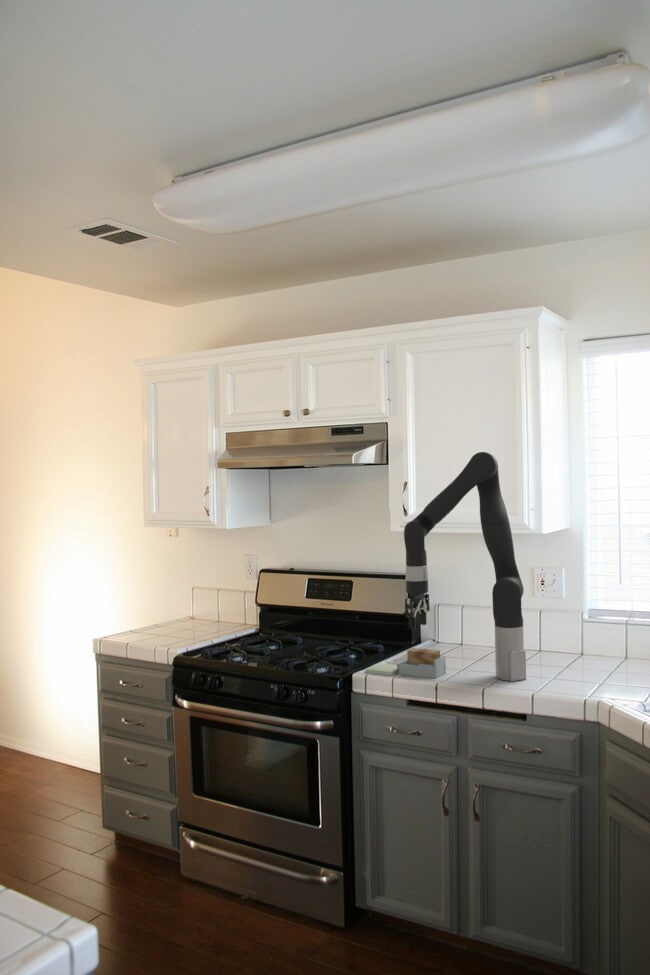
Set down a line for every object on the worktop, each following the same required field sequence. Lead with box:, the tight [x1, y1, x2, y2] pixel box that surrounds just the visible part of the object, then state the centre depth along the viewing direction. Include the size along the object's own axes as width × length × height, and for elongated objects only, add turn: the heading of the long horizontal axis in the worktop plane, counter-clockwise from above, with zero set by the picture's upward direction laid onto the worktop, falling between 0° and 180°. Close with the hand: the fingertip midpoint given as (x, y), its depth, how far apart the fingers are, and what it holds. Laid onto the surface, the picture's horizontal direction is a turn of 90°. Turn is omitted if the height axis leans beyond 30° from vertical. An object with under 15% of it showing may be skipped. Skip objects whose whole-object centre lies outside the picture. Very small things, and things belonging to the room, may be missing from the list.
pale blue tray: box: [396, 655, 447, 679], centre depth 285 cm, size 14×8×6 cm, turn 59°
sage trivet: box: [364, 663, 397, 676], centre depth 290 cm, size 10×10×1 cm
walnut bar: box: [406, 647, 441, 665], centre depth 284 cm, size 10×4×4 cm, turn 59°
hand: (417, 626), depth 285 cm, fingers open, 8 cm apart
